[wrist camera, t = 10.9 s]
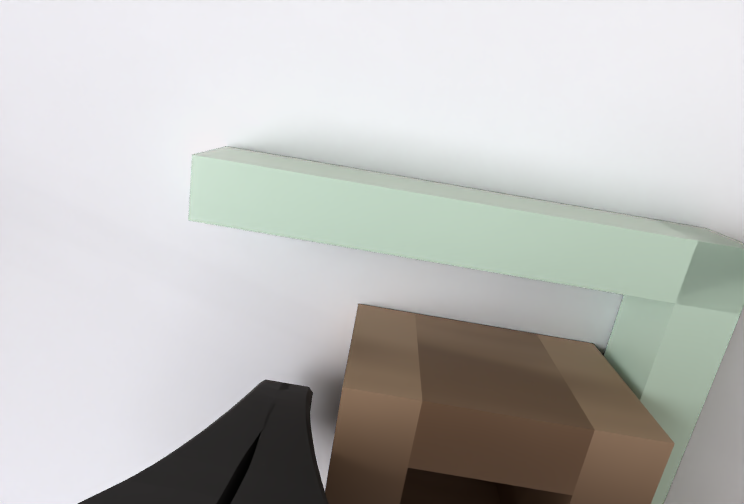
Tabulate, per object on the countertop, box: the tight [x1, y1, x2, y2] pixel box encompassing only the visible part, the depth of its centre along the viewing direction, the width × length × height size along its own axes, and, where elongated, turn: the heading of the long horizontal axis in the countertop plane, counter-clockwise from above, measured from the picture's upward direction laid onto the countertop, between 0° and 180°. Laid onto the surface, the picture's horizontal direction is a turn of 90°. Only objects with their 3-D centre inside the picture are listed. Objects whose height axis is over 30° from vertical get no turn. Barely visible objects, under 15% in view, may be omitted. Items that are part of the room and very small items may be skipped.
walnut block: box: [325, 304, 675, 504], centre depth 11 cm, size 5×5×4 cm
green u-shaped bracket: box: [188, 146, 744, 504], centre depth 11 cm, size 11×10×2 cm
